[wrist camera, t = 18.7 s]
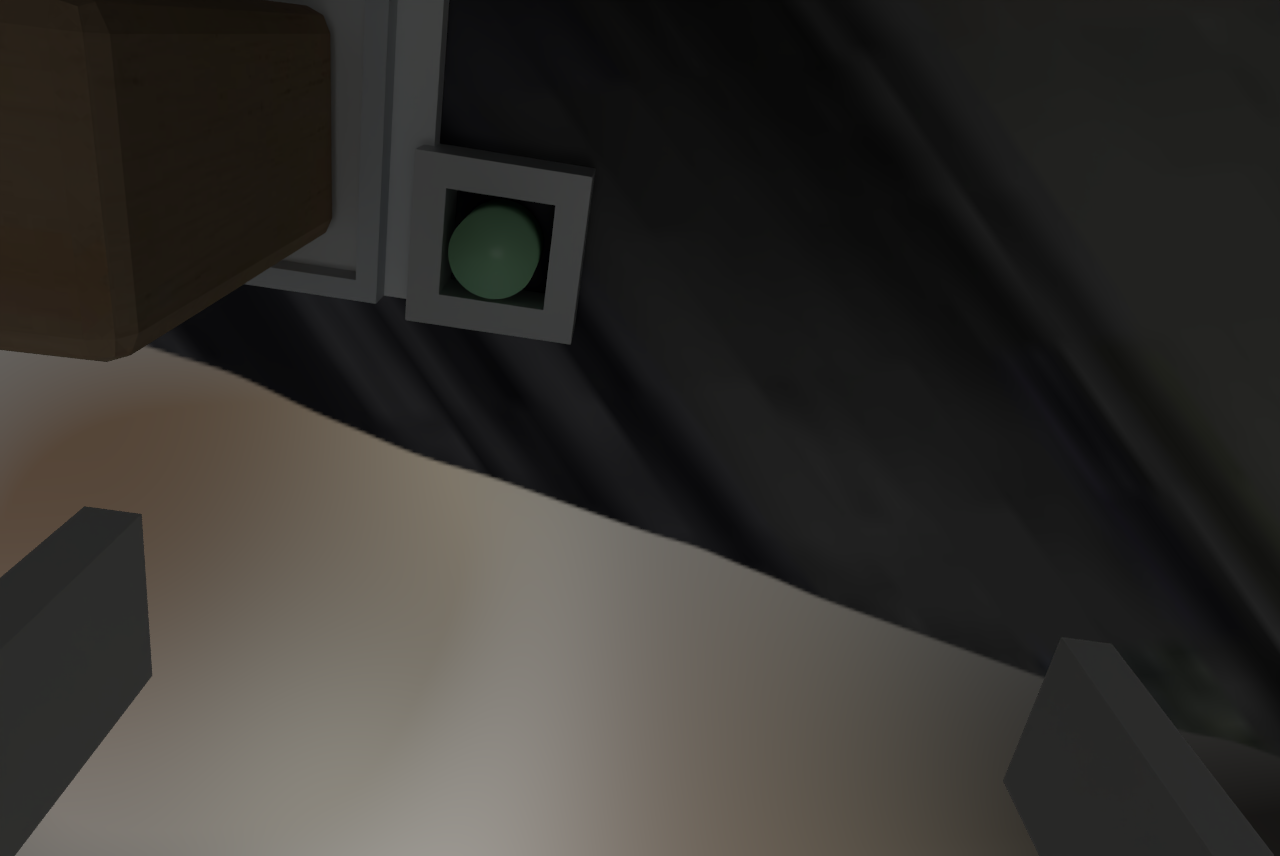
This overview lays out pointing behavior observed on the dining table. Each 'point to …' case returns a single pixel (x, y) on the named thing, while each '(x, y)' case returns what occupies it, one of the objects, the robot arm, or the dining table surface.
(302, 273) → the shallow gray rectangular tray
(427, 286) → the button housing
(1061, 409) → the dining table surface
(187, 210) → the wooden block
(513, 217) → the button
